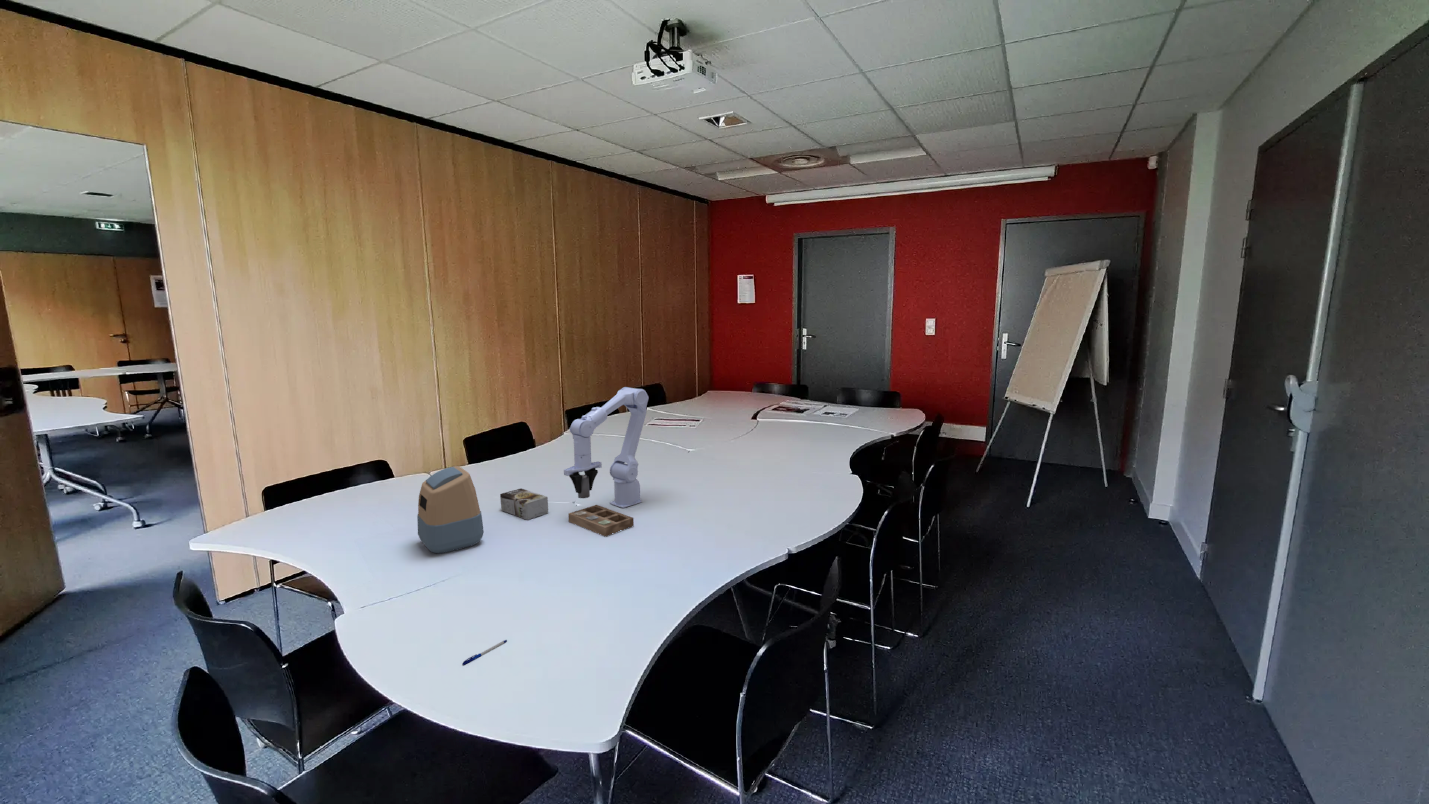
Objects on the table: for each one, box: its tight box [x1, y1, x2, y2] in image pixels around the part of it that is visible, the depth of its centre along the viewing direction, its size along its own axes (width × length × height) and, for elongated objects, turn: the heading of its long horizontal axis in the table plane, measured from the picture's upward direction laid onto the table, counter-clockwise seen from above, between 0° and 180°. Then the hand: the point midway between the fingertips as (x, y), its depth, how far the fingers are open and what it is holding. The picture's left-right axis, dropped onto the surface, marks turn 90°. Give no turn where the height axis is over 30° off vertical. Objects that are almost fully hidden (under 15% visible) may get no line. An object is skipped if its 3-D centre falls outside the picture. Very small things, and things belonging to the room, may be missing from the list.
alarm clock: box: [416, 465, 485, 554], centre depth 177 cm, size 17×17×23 cm
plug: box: [577, 474, 591, 499], centre depth 200 cm, size 4×4×8 cm
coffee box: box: [499, 488, 549, 521], centre depth 206 cm, size 9×6×16 cm
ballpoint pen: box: [462, 639, 508, 666], centre depth 122 cm, size 10×1×1 cm, turn 147°
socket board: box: [568, 504, 635, 537], centre depth 195 cm, size 12×20×3 cm, turn 49°
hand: (583, 491), depth 201 cm, fingers closed on plug, 4 cm apart
